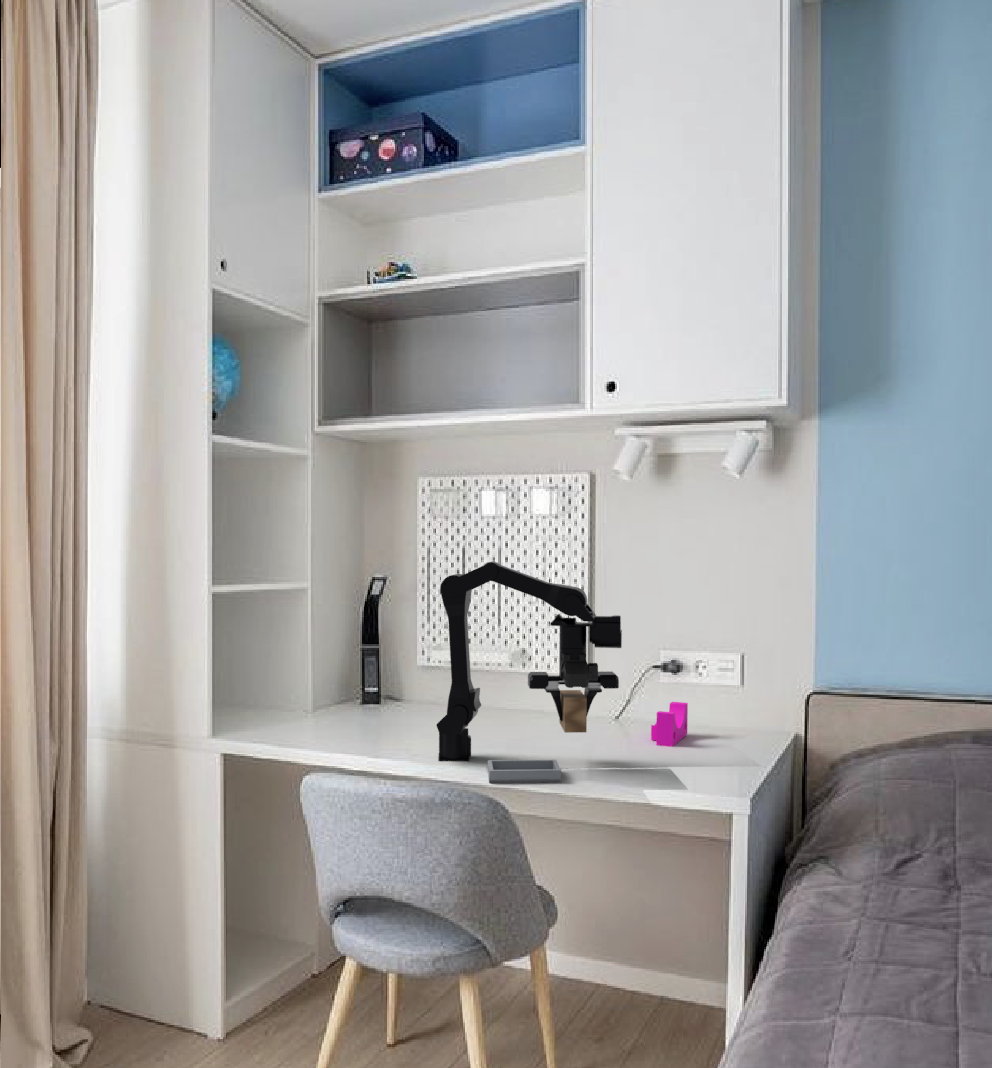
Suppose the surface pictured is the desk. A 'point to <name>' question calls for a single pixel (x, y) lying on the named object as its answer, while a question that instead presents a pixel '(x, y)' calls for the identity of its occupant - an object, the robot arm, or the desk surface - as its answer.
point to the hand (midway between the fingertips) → (572, 720)
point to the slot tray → (524, 771)
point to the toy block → (670, 725)
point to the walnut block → (573, 711)
